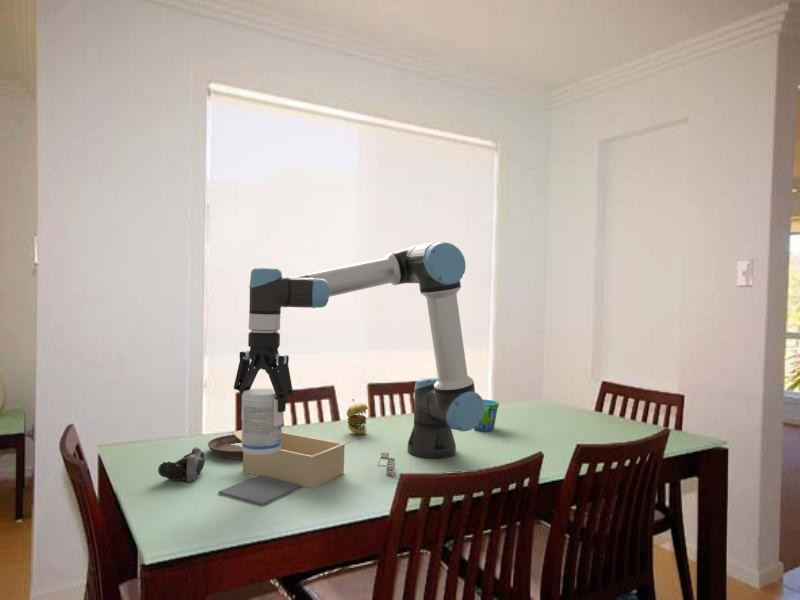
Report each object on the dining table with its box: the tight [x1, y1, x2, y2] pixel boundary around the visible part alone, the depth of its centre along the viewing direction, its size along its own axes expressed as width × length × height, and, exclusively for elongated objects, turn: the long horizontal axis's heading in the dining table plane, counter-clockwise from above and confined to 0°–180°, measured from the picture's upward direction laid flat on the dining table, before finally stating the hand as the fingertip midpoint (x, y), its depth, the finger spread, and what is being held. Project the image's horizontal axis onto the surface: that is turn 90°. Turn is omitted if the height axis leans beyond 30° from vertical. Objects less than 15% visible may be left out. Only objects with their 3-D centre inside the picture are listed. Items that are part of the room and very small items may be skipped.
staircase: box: [377, 452, 396, 477], centre depth 153 cm, size 6×4×6 cm, turn 174°
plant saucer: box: [207, 434, 243, 460], centre depth 171 cm, size 21×21×3 cm
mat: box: [218, 475, 302, 507], centre depth 138 cm, size 14×14×1 cm
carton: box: [231, 429, 358, 489], centre depth 152 cm, size 32×14×10 cm, turn 62°
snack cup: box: [473, 399, 500, 432], centre depth 206 cm, size 16×10×10 cm
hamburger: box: [346, 398, 368, 435], centre depth 195 cm, size 8×7×12 cm
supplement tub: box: [241, 388, 283, 455], centre depth 138 cm, size 10×10×15 cm
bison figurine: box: [157, 446, 206, 483], centre depth 147 cm, size 12×7×10 cm
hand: (261, 422), depth 138 cm, fingers closed on supplement tub, 10 cm apart
